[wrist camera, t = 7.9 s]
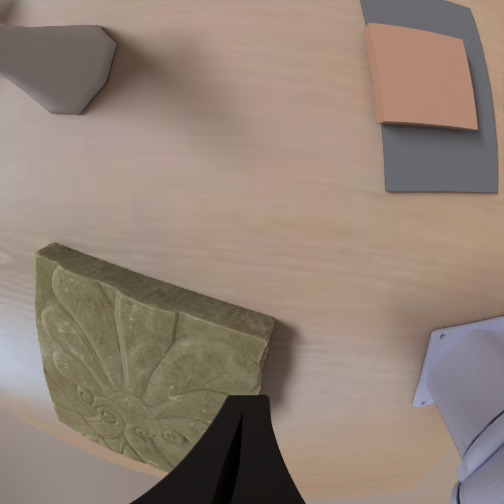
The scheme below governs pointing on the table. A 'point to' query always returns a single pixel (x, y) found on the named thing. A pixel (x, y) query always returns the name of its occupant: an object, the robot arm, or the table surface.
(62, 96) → the flask
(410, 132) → the mat
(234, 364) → the decorative tile
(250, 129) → the table surface
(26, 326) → the table surface
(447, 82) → the tile
